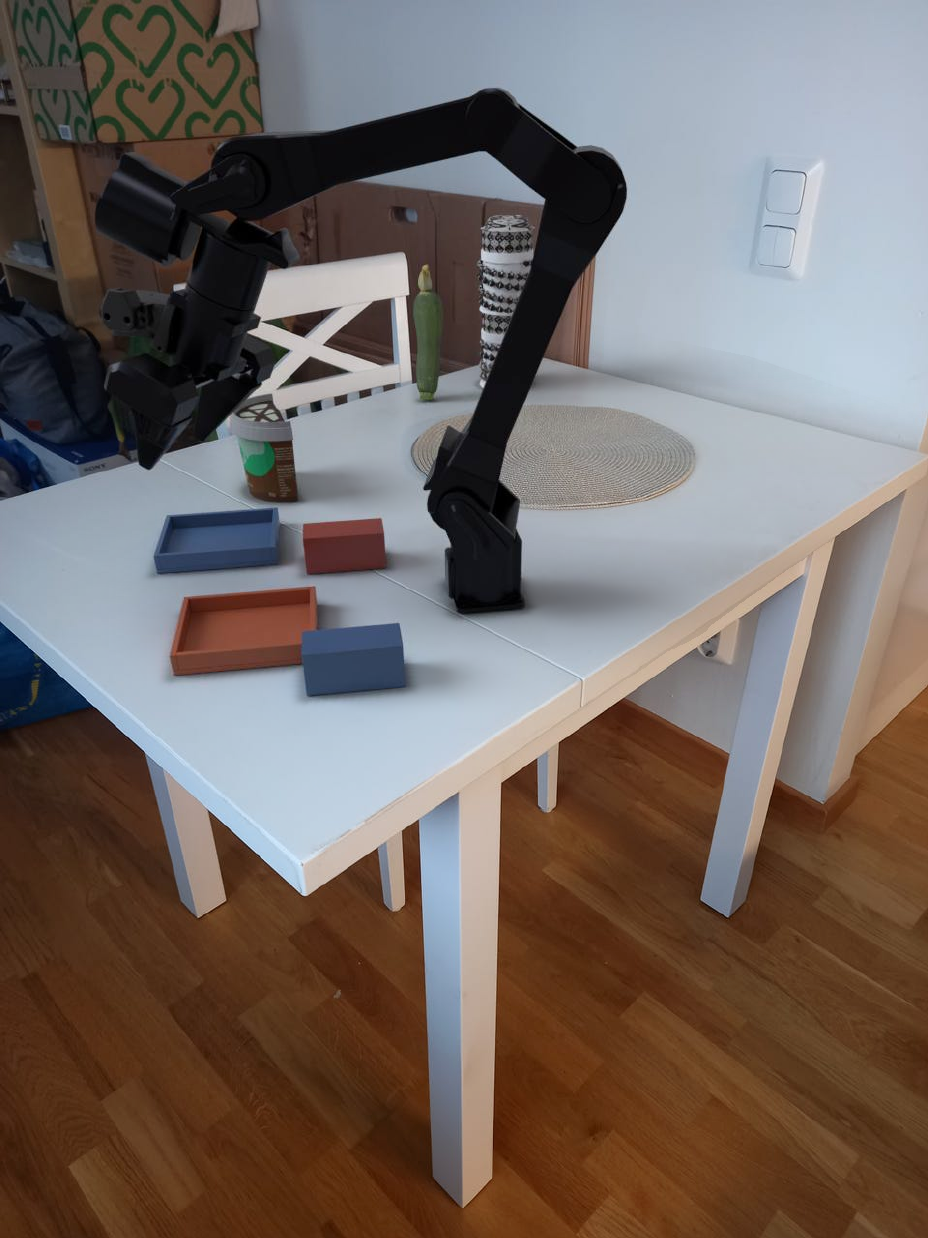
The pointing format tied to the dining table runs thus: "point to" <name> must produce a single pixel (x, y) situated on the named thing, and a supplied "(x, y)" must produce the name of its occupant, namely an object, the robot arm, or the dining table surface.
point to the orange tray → (243, 630)
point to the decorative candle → (501, 279)
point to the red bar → (344, 546)
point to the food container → (265, 449)
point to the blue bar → (353, 659)
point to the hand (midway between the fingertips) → (173, 452)
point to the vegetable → (427, 335)
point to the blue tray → (218, 540)
